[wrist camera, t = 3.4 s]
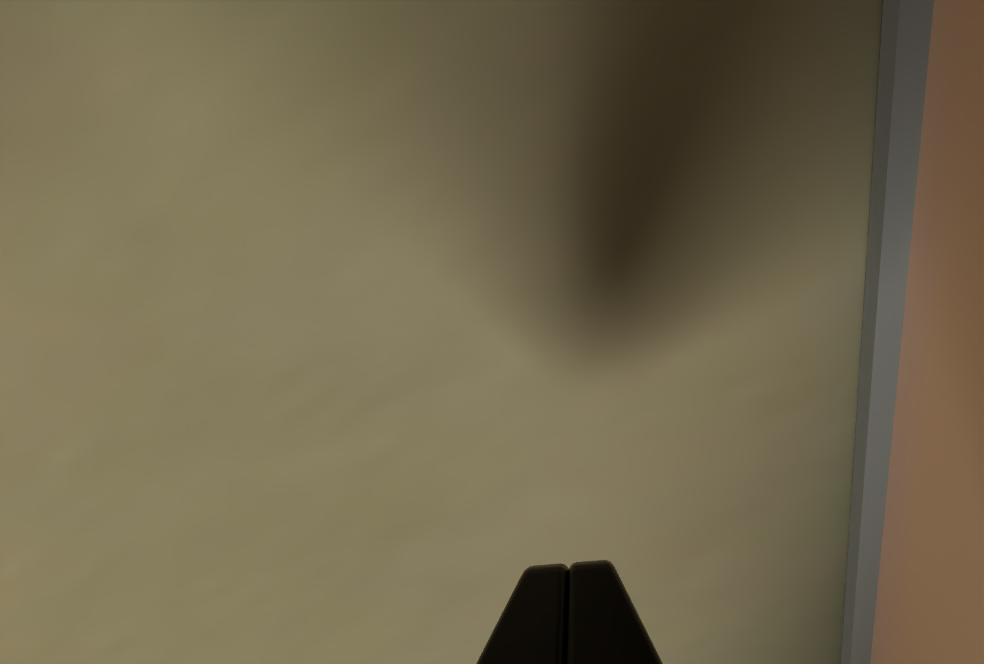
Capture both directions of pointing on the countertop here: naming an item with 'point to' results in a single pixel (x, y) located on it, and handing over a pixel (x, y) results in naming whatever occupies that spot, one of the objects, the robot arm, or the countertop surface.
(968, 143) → the tile
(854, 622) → the mat
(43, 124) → the countertop surface
